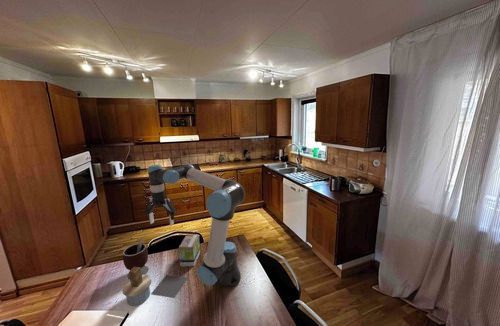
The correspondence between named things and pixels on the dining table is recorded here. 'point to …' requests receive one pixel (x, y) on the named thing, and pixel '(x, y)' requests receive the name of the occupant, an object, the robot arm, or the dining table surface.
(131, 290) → the lid
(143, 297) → the bowl
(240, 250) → the dining table surface
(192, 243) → the tea box
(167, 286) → the mat
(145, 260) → the mate gourd
